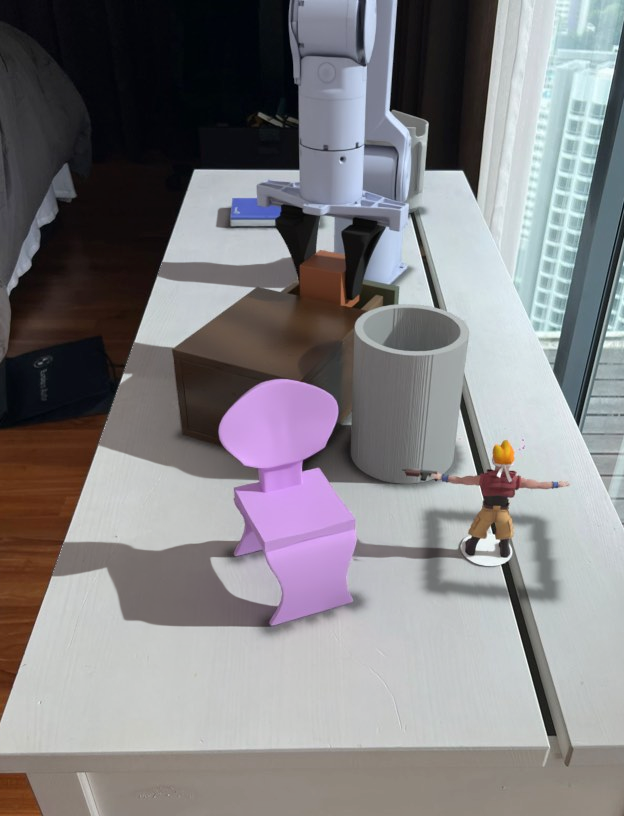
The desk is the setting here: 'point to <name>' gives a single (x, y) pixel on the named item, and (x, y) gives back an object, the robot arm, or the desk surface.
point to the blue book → (252, 213)
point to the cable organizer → (413, 156)
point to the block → (325, 278)
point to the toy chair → (291, 494)
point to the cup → (406, 390)
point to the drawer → (364, 294)
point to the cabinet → (263, 356)
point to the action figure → (491, 506)
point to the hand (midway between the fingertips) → (330, 290)
